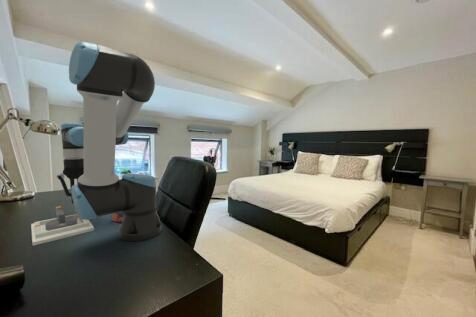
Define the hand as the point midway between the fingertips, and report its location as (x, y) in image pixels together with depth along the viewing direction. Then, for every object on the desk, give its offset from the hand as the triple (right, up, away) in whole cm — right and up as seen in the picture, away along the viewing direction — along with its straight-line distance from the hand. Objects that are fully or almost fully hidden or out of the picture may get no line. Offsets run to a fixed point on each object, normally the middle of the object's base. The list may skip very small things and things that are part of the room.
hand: (77, 209), depth 98 cm
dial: (-1, -4, -8) cm, 9 cm away
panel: (+1, -5, -9) cm, 11 cm away
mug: (+21, -5, +2) cm, 21 cm away
